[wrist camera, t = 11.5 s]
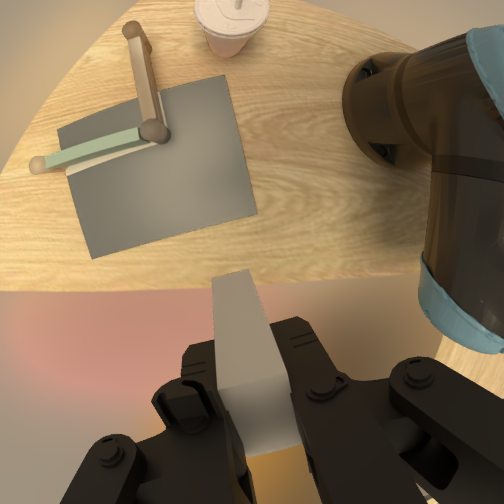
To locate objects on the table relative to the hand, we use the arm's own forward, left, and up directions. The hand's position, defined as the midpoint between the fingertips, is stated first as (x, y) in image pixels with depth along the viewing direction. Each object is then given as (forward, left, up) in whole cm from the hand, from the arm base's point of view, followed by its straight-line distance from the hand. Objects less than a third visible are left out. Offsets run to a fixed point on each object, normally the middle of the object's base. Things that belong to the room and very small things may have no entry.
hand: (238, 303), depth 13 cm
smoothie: (-5, -19, -23) cm, 30 cm away
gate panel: (+11, -10, -22) cm, 27 cm away
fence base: (+4, -15, -22) cm, 27 cm away
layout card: (+6, -7, -22) cm, 24 cm away
